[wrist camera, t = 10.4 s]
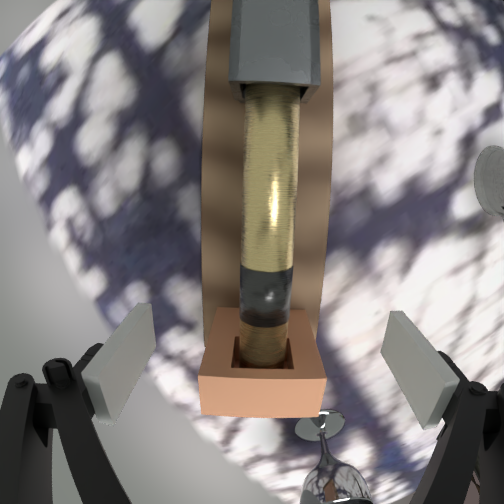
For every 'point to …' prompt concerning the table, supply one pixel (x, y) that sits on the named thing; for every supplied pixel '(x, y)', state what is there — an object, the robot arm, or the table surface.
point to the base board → (231, 177)
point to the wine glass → (330, 465)
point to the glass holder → (490, 180)
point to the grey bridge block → (275, 45)
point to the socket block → (261, 373)
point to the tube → (268, 222)
